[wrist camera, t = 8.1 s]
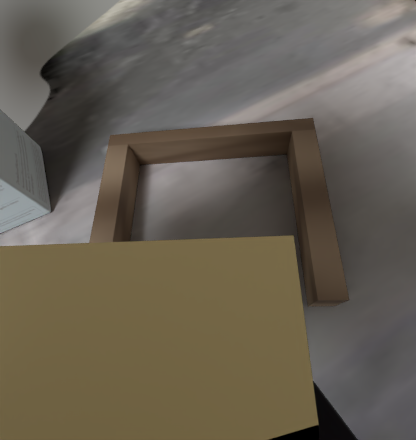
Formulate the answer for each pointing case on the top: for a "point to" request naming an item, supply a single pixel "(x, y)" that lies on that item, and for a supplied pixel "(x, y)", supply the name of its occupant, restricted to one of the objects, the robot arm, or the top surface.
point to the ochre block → (155, 341)
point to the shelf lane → (225, 149)
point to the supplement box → (20, 177)
